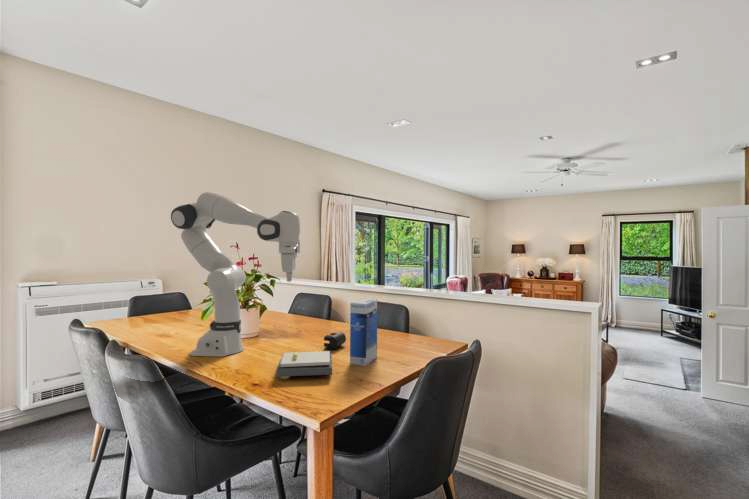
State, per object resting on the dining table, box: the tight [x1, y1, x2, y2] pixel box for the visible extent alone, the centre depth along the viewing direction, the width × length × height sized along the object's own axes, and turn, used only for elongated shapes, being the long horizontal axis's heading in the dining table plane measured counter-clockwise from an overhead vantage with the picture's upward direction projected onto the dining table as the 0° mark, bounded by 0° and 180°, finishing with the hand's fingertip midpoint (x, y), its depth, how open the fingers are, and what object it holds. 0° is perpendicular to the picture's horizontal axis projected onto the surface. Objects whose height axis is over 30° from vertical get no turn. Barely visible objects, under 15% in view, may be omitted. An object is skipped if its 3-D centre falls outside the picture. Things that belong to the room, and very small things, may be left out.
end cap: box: [323, 331, 347, 351], centre depth 178 cm, size 10×7×7 cm
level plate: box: [277, 350, 331, 367], centre depth 143 cm, size 19×14×3 cm
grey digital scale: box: [275, 353, 333, 382], centre depth 143 cm, size 20×18×4 cm
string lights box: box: [349, 298, 378, 367], centre depth 158 cm, size 13×8×26 cm, turn 157°
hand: (289, 281), depth 157 cm, fingers closed
